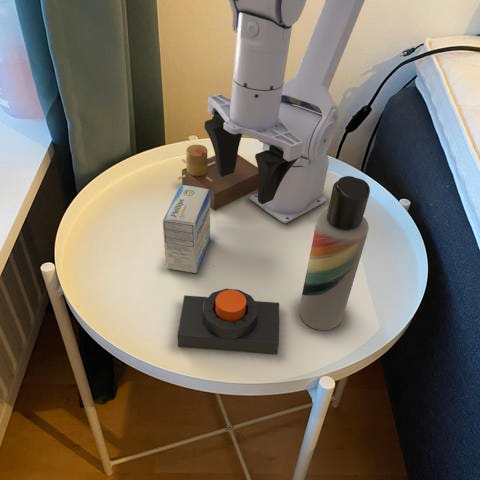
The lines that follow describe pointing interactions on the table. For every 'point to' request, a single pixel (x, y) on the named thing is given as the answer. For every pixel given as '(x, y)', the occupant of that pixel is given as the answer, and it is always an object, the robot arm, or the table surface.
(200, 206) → the medicine box
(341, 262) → the lotion bottle
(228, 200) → the dial panel
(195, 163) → the dial
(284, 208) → the robot arm
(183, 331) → the switch base
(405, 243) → the table surface
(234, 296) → the button
